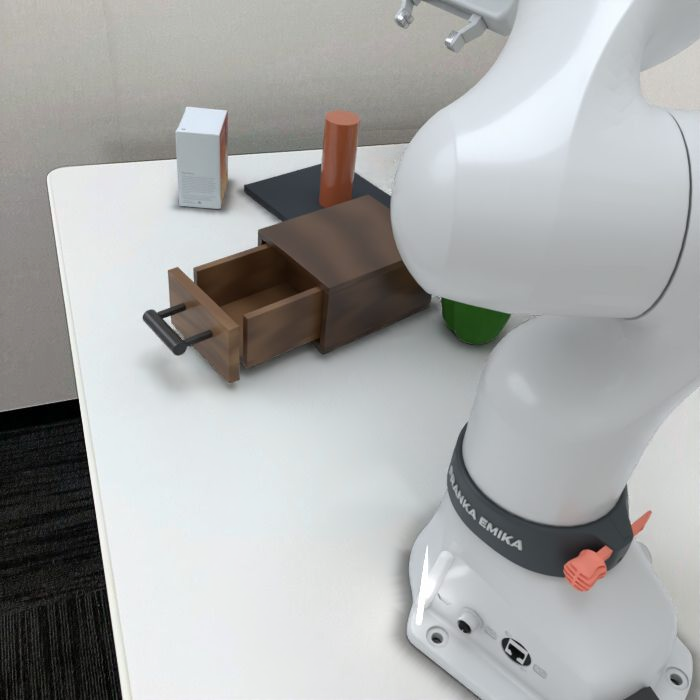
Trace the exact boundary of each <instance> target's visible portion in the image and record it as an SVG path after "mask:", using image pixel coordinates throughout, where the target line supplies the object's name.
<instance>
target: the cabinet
mask: <svg viewBox="0 0 700 700" xmlns="http://www.w3.org/2000/svg"><path fill="white" fill-rule="evenodd" d="M266 243H267V244H269V245H270V246H271V247H272V248H273V249H275V250H276V251H277V252H278V253H280V254H281V255H282V256H283V257H284V258H286V259H287V260H288V261H289V262H290V263H292V264H293V265H294V266H295V267H297V268H298V269H299V270H300V271H301V272H303V273H304V274H305V275H306V276H307V277H309V278H310V279H311V280H312V281H314V282H315V283H316V284H317V285H318V286H320V287H321V288H322V289H323V290H324V301H323V312H322V323H321V334H320V338H318V339H315V340H313V341H311V342H309V343H310V344H311V345H312V346H314V348H316V349H317V350H318V351H319V352H320V353H321V354H323V355H325V354H327V353H329V352H331V351H334V350H336V349H338V348H341V347H343V346H345V345H347V344H350V343H352V342H355V341H357V340H358V339H359V340H360V339H361V338H364V337H365V336H367V335H371V334H372V333H375V332H378V331H379V330H381V329H384V328H385V327H388V326H390V325H392V324H395V323H397V322H399V321H402V320H403V319H405V318H408V317H411V316H413V315H415V314H417V313H419V312H421V311H424V310H426V309H428V308H430V306H431V302H432V296H433V295H431V294H428V293H427V292H426V291H425V290H424V289H423V288H422V287H421V286H420V285H419V284H418V283H417V282H416V280H415V279H414V278H413V276H412V275H411V274H410V272H409V271H408V269H407V267H406V266H405V264H404V262H403V260H402V258H401V256H400V253H399V251H398V249H397V246H396V242H395V239H394V236H393V230H392V224H391V213H390V209H389V208H387V207H386V206H384V205H383V204H381V203H380V202H378V201H377V200H376V199H374V198H373V197H371V196H370V195H365V196H362V197H359V198H356V199H353V200H350V201H346V202H343V203H340V204H337V205H334V206H331V207H328V208H324V209H321V210H318V211H315V212H312V213H309V214H306V215H303V216H299V217H296V218H293V219H290V220H287V221H284V222H283V221H281V222H278V223H274V224H271V225H268V226H265V227H262V228H259V229H257V246H260V245H263V244H266Z"/></svg>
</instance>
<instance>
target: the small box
mask: <svg viewBox="0 0 700 700" xmlns="http://www.w3.org/2000/svg"><path fill="white" fill-rule="evenodd" d="M228 119H229V111H228V110H224V109H216V108H214V109H213V108H205V107H195V106H186V107H185V109H184V112H183V115H182V117H181V119H180V122H179V124H178V126H177V128H176V129H175V131H174V134H175V152H176V153H175V154H176V173H177V174H176V175H177V191H178V204H179V206H180V207H191V208H203V209H204V208H205V209H215V210H221V209H222V207H223V201H224V198H225V194H226V190H227V187H228V183H229V120H228Z"/></svg>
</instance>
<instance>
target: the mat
mask: <svg viewBox="0 0 700 700" xmlns="http://www.w3.org/2000/svg"><path fill="white" fill-rule="evenodd" d="M321 164H322V163H318V164H315V165H311V166H308V167H304V168H301V169H297V170H293V171H289V172H286V173H282V174H279V175H276V176H272V177H267V178H264V179H261V180H257V181H254V182H251V183H247V184H244V186H243V192H244V193H245V194H246V195H248V196H249V197H250V198H252V199H253V200H254V201H255V202H257V203H258V204H259V205H261V206H262V207H263V208H264V209H266V210H267V211H268V212H270V213H271V214H272V215H273V216H274V217H276V218H277V219H279V220H280V221H281V222H284V221H287V220H290V219H293V218H296V217H299V216H303V215H306V214H309V213H312V212H315V211H318V210H321V209H324V207H322V206H321V205H320V204H319V189H320V176H321ZM365 195H370V196H371V197H373V198H374V199H376V200H377V201H378V202H380V203H381V204H383V205H384V206H386V207H387V208H389V209H390V206H391V205H390V204H391V194H388V193H387V192H385V191H384V190H382V189H381V188H379V187H378V186H376V185H375V184H374V183H372V182H370V181H369V180H367V179H366V178H365V177H363V176H361V175H360V174H358V173H357V172H354V182H353V191H352V200H353V199H356V198H359V197H362V196H365Z"/></svg>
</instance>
